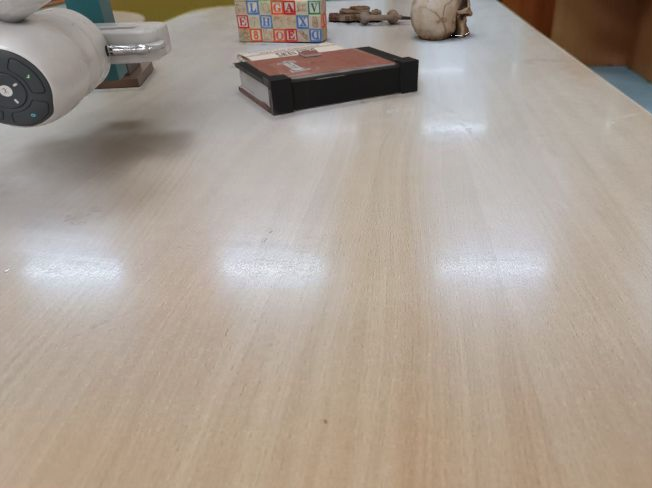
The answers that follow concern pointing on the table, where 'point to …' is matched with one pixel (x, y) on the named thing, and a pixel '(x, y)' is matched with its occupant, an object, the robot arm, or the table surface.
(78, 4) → the teal rectangular block
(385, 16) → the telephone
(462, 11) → the skull
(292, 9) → the stack of blocks
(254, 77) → the book
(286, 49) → the newspaper
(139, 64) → the lower pad
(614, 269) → the table surface
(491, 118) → the table surface
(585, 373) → the table surface
